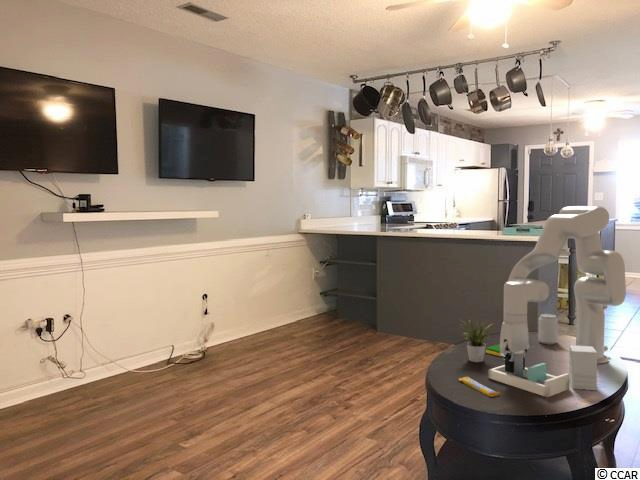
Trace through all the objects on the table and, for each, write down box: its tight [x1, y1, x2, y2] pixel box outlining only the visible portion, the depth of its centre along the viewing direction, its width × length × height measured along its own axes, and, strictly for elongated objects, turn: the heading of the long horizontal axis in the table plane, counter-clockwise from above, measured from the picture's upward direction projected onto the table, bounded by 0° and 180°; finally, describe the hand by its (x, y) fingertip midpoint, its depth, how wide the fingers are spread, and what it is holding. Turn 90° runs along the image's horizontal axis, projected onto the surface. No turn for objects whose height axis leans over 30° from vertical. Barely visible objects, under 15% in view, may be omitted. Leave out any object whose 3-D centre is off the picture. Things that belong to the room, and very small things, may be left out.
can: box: [537, 313, 559, 345], centre depth 221 cm, size 8×8×12 cm
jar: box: [507, 350, 524, 378], centre depth 176 cm, size 5×5×9 cm
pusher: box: [527, 362, 547, 385], centre depth 168 cm, size 8×5×7 cm, turn 124°
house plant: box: [457, 318, 494, 363], centre depth 198 cm, size 14×14×16 cm
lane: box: [488, 364, 570, 398], centre depth 172 cm, size 12×22×5 cm, turn 34°
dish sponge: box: [485, 343, 503, 357], centre depth 209 cm, size 7×14×2 cm, turn 126°
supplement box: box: [568, 344, 598, 391], centre depth 169 cm, size 7×7×13 cm
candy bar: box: [458, 376, 500, 398], centre depth 169 cm, size 17×4×2 cm, turn 20°
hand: (514, 369), depth 176 cm, fingers closed on jar, 5 cm apart
